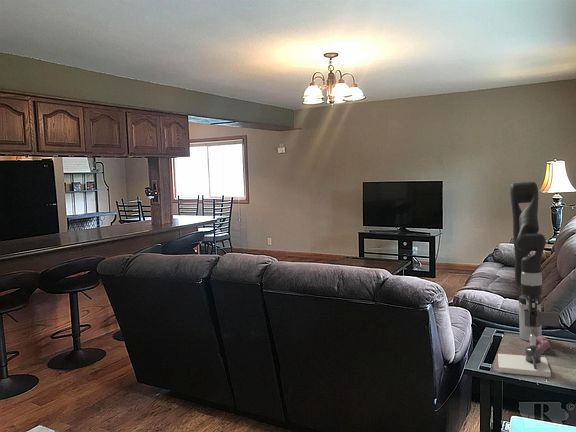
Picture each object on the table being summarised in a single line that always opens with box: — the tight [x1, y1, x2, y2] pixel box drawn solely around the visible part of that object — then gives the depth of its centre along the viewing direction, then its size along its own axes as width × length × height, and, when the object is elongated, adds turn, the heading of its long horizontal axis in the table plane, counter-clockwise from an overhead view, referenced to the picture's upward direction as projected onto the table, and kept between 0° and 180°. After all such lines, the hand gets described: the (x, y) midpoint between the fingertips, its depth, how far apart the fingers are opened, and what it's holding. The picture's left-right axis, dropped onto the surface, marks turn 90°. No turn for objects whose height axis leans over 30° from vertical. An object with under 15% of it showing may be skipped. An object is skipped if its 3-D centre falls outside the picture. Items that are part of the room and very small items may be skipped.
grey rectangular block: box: [524, 309, 560, 328], centre depth 185 cm, size 6×12×6 cm, turn 67°
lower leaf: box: [524, 334, 542, 369], centre depth 184 cm, size 11×6×11 cm, turn 157°
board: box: [497, 353, 552, 378], centre depth 187 cm, size 15×18×2 cm
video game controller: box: [529, 335, 550, 354], centre depth 204 cm, size 10×5×7 cm, turn 169°
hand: (532, 323), depth 186 cm, fingers closed on grey rectangular block, 5 cm apart
